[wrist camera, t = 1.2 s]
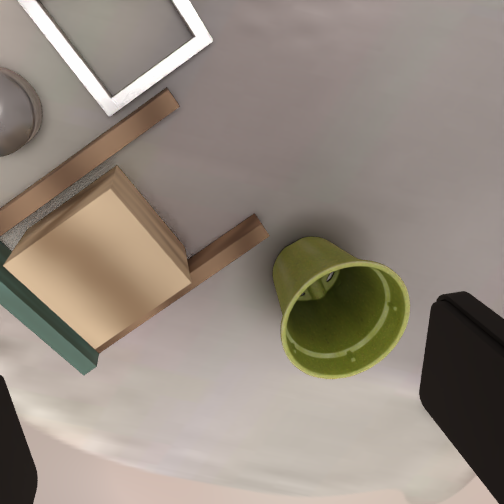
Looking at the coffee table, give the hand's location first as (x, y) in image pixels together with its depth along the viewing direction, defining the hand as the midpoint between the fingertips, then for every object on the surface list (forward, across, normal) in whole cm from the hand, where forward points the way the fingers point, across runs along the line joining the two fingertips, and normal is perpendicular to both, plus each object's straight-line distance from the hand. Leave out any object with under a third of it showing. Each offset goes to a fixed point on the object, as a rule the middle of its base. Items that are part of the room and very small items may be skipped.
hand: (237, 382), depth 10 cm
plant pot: (+25, -10, +11) cm, 29 cm away
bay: (+25, +4, +5) cm, 26 cm away
